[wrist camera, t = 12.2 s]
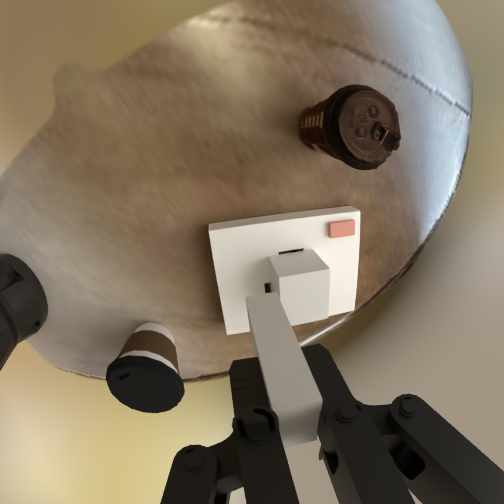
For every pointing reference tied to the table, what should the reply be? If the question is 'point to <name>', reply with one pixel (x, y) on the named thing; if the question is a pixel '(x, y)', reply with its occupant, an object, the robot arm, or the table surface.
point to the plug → (301, 285)
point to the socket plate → (277, 240)
